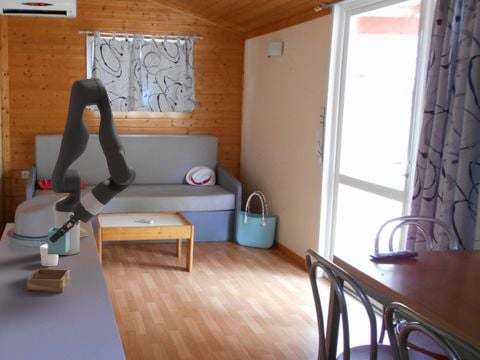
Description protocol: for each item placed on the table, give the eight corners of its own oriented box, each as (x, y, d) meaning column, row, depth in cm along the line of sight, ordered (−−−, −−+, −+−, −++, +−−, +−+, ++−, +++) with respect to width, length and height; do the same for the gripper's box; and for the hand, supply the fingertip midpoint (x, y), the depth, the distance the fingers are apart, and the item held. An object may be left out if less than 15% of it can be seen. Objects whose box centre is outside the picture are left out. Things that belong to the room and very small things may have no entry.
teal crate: (52, 249, 204) (52, 227, 203) (69, 249, 205) (69, 227, 203) (47, 254, 198) (47, 231, 197) (65, 254, 199) (65, 232, 197)
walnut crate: (37, 280, 195) (37, 268, 195) (70, 280, 196) (70, 269, 195) (27, 291, 184) (27, 279, 183) (62, 292, 185) (62, 280, 184)
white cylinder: (62, 262, 217) (62, 244, 216) (54, 267, 210) (54, 248, 209) (44, 260, 217) (44, 242, 216) (36, 266, 211) (36, 247, 210)
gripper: (85, 194, 206) (50, 225, 207) (76, 202, 192) (40, 236, 193) (99, 209, 207) (65, 240, 208) (92, 218, 193) (56, 252, 194)
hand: (53, 238), depth 200 cm, fingers closed on teal crate, 6 cm apart
